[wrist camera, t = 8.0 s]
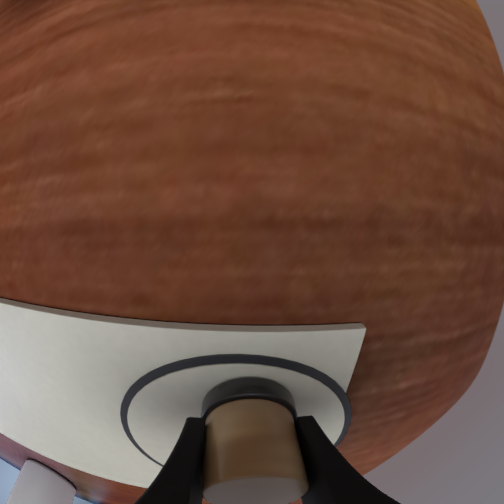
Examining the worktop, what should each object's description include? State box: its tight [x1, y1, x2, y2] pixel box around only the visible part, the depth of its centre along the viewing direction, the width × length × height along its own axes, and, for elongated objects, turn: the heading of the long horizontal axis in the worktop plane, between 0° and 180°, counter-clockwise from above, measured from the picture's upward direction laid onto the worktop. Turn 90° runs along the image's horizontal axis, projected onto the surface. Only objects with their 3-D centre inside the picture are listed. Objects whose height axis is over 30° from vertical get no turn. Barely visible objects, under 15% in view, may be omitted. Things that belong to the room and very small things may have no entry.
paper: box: [0, 298, 366, 488], centre depth 11 cm, size 37×16×1 cm, turn 87°
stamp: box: [201, 377, 309, 504], centre depth 8 cm, size 4×4×4 cm
